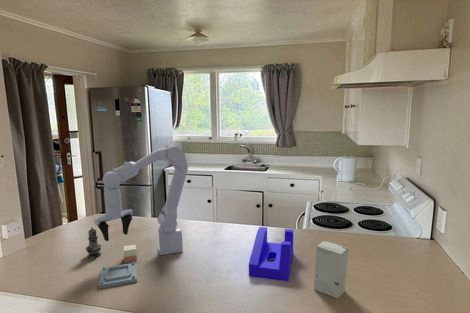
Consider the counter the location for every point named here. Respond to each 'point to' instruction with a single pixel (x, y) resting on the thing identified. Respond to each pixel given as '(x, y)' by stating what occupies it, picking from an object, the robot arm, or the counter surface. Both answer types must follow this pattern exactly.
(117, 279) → the base plate
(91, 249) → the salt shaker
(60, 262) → the counter surface
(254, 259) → the bracket
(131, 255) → the cream and red block
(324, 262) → the skincare box
